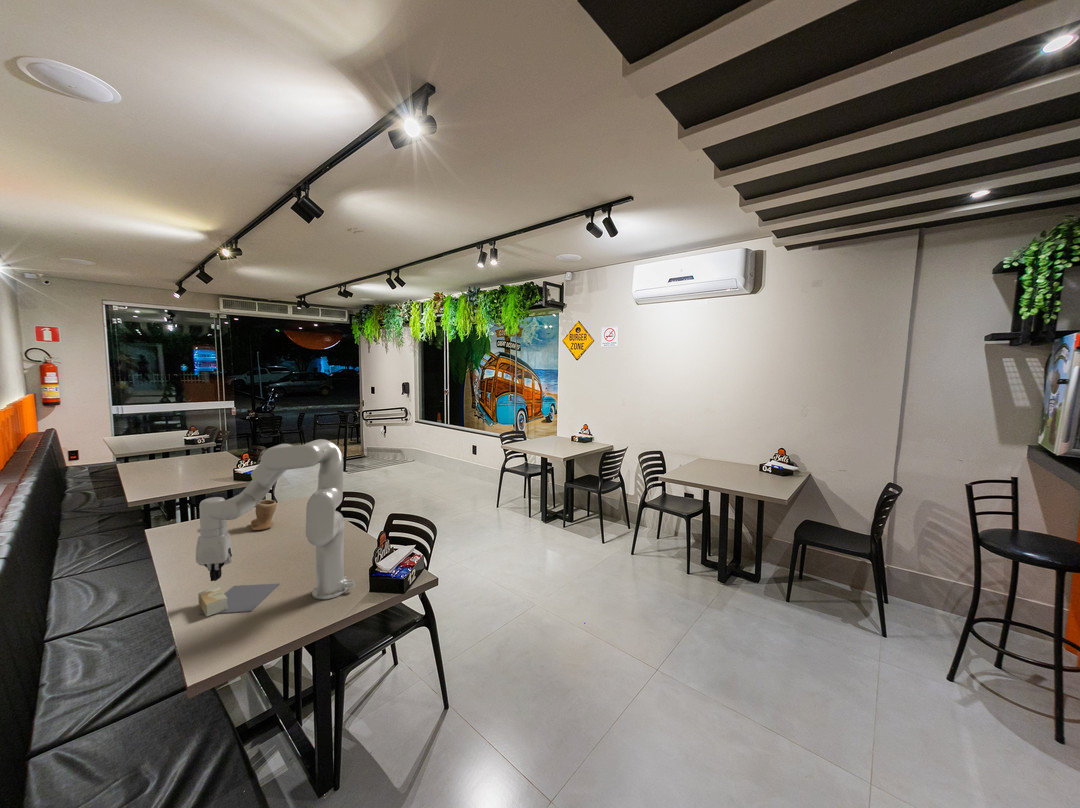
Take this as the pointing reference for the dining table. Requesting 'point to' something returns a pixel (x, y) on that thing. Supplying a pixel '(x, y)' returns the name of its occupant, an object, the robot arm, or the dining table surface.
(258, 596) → the mat
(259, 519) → the brown boot
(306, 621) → the dining table surface
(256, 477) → the robot arm
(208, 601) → the skincare box
